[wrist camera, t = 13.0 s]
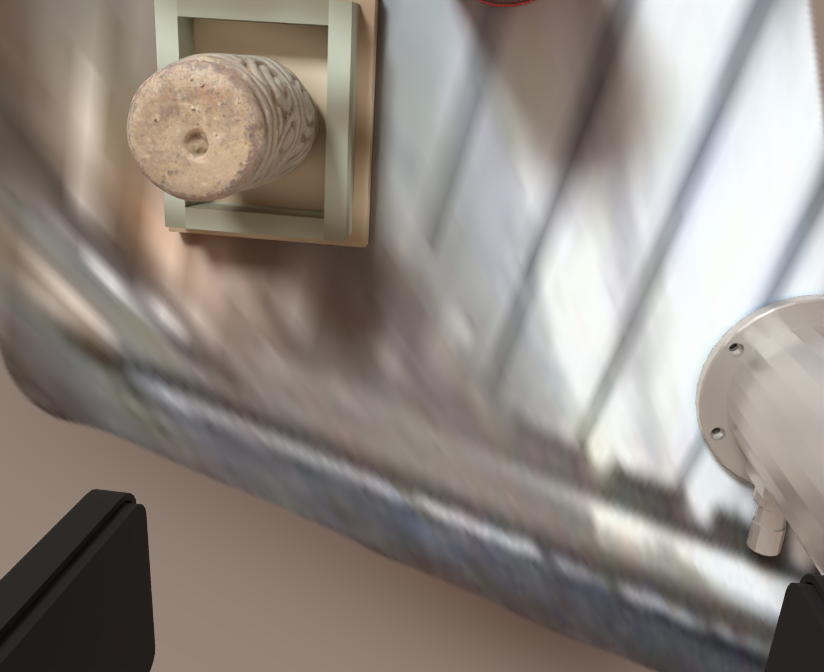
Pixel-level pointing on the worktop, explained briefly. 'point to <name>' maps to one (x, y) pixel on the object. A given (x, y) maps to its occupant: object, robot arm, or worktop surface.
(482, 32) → the worktop surface
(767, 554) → the robot arm
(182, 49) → the beige shallow tray
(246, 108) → the carving
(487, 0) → the canned food
